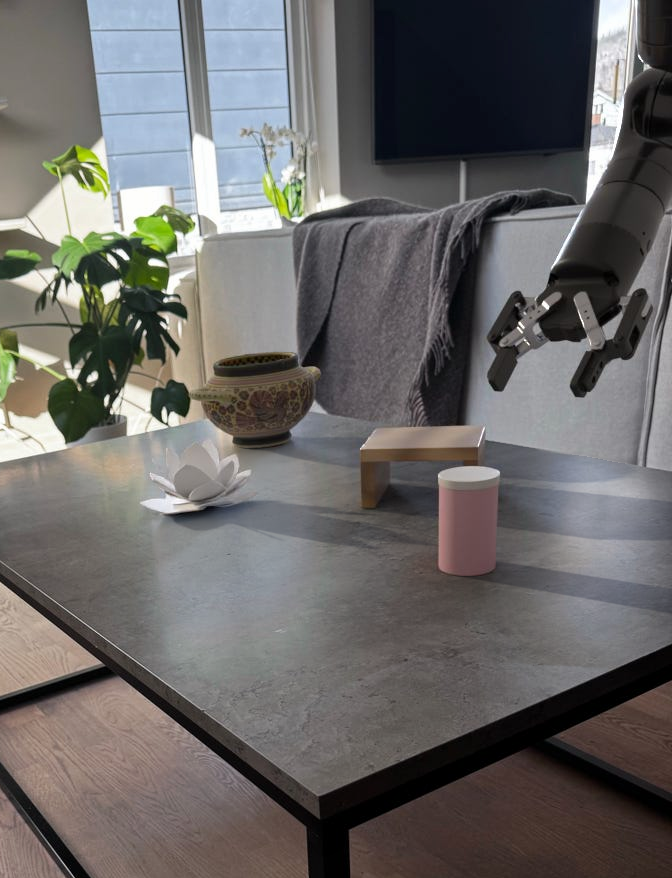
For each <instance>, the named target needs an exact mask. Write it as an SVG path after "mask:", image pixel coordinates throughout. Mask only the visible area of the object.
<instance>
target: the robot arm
mask: <svg viewBox="0 0 672 878" xmlns="http://www.w3.org/2000/svg"><path fill="white" fill-rule="evenodd" d="M634 21H635V23H634V24H635V47H636V52H637V56H638V58H639V59H640V60H641V62H642V63H643V64H645V65H646V66H648V68H646V69H645V70H642V71H641V72H640V73H639V74H637V75H636V76H634V78H633V79H632V80H631V81H630V82H629V83H628V85H627V86H626V88H625V90H624V93H623V95H622V98H621V102H620V106H619V111H618V112H619V113H618V118H617V119H618V120H617V128H616V132H615V133H616V134H615V138H614V142H613V147H612V150H611V153H610V157H609V159H608V162H607V165H606V167H605V169H604V171H603V173H602V175H601V176H600V179H599V181H598V183H597V184H596V187H595V188H594V190H593V193H592V194H591V196H590V198H589V199H588V201H587V202H586V203H585V205H584V206H583V208H582V209H581V211H580V213H579V214H578V215H577V218H576V220H575V221H574V224H573V226H572V228H571V229H570V232H569V233H568V234H567V235H568V236H567V237H566V238H565V241H564V242H563V245H562V247H561V249H560V251H559V253H558V255H557V257H556V259H555V261H554V263H552V266H551V269H550V271H549V275H548V279H547V283H546V285H545V288H544V289H543V290H542V291H541V292H540V293H539V294H538V295H537V296H524V294H523V293H522V291H521V290H515V291H513V292H512V293H511V294H510V295H509V297H508V299H507V300H506V302H505V304H504V306H503V307H502V309H501V311H500V312H499V314H498V316H497V317H496V319H495V321H494V323H493V324H492V326H491V328H490V329H489V331H488V333H487V335H486V340H487V342H488V344H489V345H490V347H491V348H492V350H493V351H494V354H495V357H494V359H493V361H492V363H491V365H490V367H489V369H488V370H487V373H486V378H487V381H488V384H489V385H490V387H491V388H492V390H493V392H499V393H502V392H504V390H505V388H506V386H507V385H508V382H509V381H510V378H511V377H512V375H513V373H514V371H515V369H516V367H517V365H518V364H519V361H518V360H519V359H521V357H523V356H525V355H526V354H527V353H528V352H530V351H532V350H538V349H540V348H541V347H543V346H544V345H545V344H547V343H548V342H549V343H554V342H555V343H559V342H564V341H568V342H571V343H581V342H582V341H583V340H585V339H588V343H589V345H590V348H591V349H590V350H585V352H584V353H583V356H582V358H581V359H580V361H579V364H578V365H577V367H576V369H575V372H574V374H573V375H572V378H571V379H570V381H569V389H570V391H571V393H572V394H573V396H574V398H582V399H584V398H585V397H586V396H587V394H588V393H591V392H592V391H593V390H594V389H595V387H596V386H597V383H598V381H599V379H600V378H601V375H602V374H603V372H604V370H605V368H606V366H607V365H609V364H610V363H611V362H612V361H614V360H617V359H621V360H622V361H629V360H631V359H632V358H633V357H634V356H635V354H636V352H637V349H638V347H639V345H640V342H641V340H642V338H643V335H644V333H645V331H646V328H647V326H648V323H649V321H650V319H651V317H652V314H653V312H654V306H653V304H652V300H651V298H650V296H649V293H648V292H647V289H646V288H643V287H640V288H637V289H635V290H634V291H633V292H632V294H631V295H629V292H630V290H631V289H632V287H633V285H634V283H635V281H636V279H637V277H638V275H639V273H640V271H641V269H642V266H643V265H644V263H645V261H646V259H647V257H648V255H649V253H650V251H651V250H652V248H653V245H654V243H655V240H656V238H657V235H658V232H659V229H660V226H661V223H662V221H663V220H664V219H663V218H664V216H665V215H666V212H667V211H668V209H669V207H670V205H671V204H672V0H634ZM620 314H622V317H621V319H620V321H619V324H618V326H617V328H616V331H615V333H614V335H613V338H609V339H607V337H606V334H605V331H604V329H603V327H605V326H606V325H607V324H608V323H610V322H611V321H613V319H615V318H616V317H618V316H619V315H620ZM535 325H538V327H539V329H540V332H538V333H537V334H535V332H534V330H533V329H534V326H535ZM523 338H524V339H523ZM522 339H523V340H522ZM521 340H522V341H521ZM519 341H521V342H519ZM518 342H519V343H518ZM517 343H518V344H517ZM516 344H517V345H516Z"/></svg>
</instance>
